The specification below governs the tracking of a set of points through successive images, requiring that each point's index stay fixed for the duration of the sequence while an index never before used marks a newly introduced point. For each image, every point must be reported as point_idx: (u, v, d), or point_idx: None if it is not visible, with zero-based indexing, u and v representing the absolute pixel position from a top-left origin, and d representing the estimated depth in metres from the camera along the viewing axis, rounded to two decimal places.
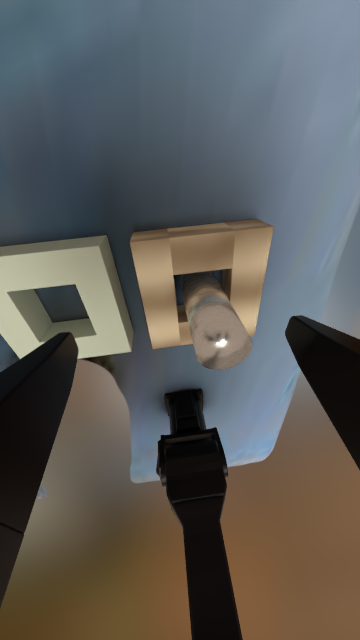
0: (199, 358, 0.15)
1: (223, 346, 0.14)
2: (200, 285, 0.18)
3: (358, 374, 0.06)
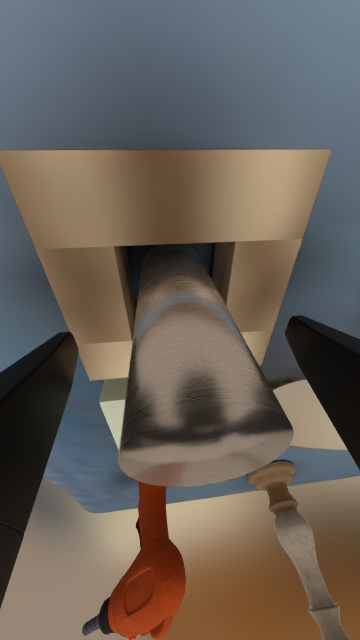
0: (220, 479, 0.06)
1: (190, 459, 0.05)
2: None
3: (358, 374, 0.06)
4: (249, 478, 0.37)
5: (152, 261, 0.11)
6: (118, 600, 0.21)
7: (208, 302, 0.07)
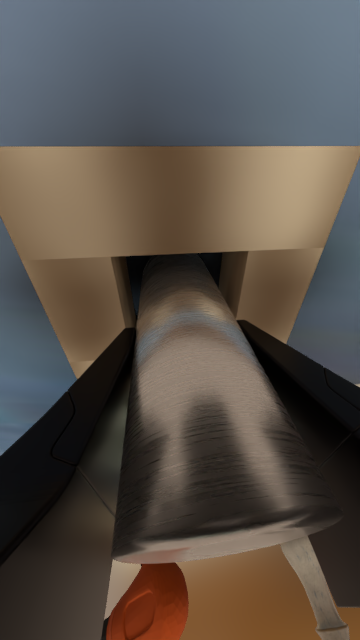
0: (238, 552, 0.05)
1: (205, 545, 0.04)
2: None
3: (278, 382, 0.06)
4: None
5: (154, 271, 0.10)
6: (117, 623, 0.20)
7: (222, 327, 0.06)
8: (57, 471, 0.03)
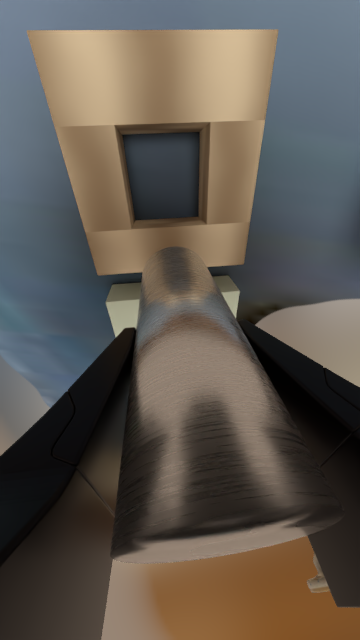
0: (238, 551, 0.05)
1: (205, 544, 0.04)
2: None
3: (278, 382, 0.06)
4: None
5: (154, 271, 0.09)
6: None
7: (222, 326, 0.06)
8: (57, 471, 0.03)
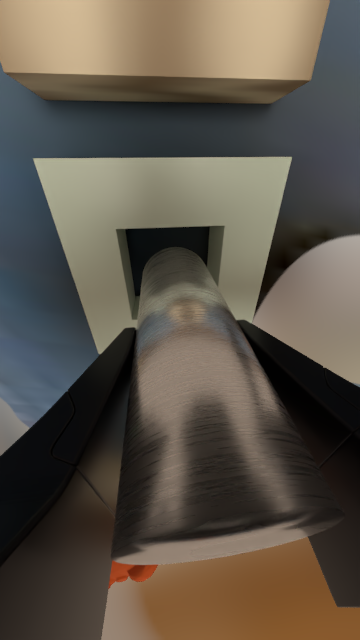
0: (238, 553, 0.05)
1: (205, 547, 0.04)
2: None
3: (278, 382, 0.06)
4: None
5: (154, 271, 0.09)
6: None
7: (222, 327, 0.06)
8: (57, 471, 0.03)
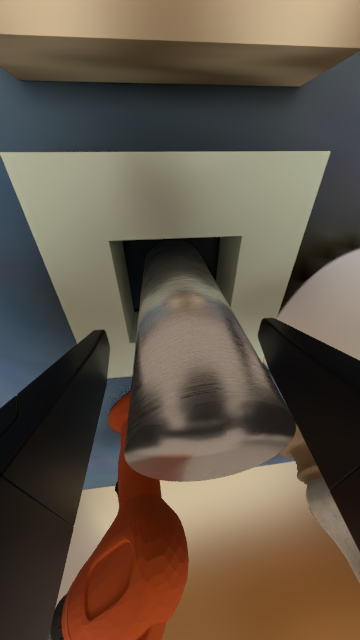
0: (223, 474, 0.06)
1: (194, 453, 0.05)
2: None
3: (317, 378, 0.06)
4: None
5: (154, 260, 0.11)
6: (76, 594, 0.13)
7: (211, 299, 0.07)
8: None
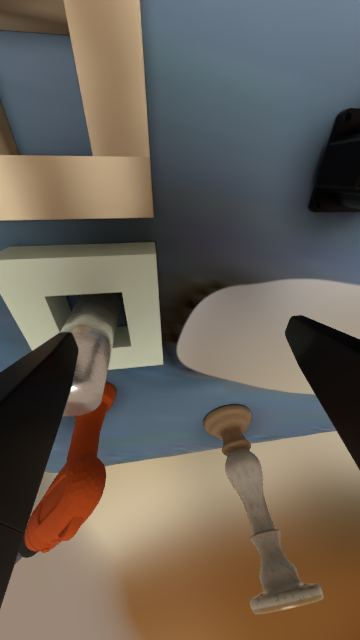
0: (83, 412, 0.13)
1: None
2: None
3: (358, 374, 0.06)
4: (205, 425, 0.36)
5: (77, 302, 0.18)
6: (34, 514, 0.20)
7: (86, 332, 0.14)
8: None
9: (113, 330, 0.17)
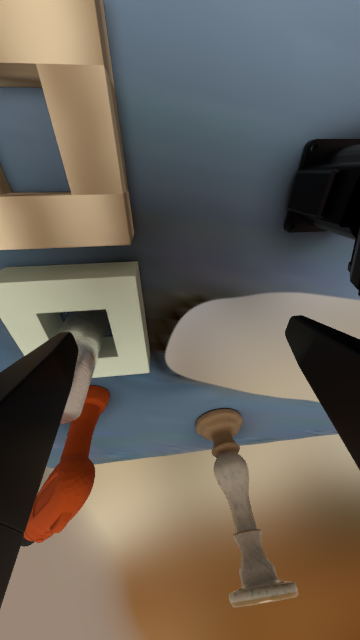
0: (66, 421, 0.15)
1: None
2: None
3: (358, 374, 0.06)
4: (196, 427, 0.38)
5: (67, 317, 0.20)
6: None
7: None
8: None
9: (98, 344, 0.19)
